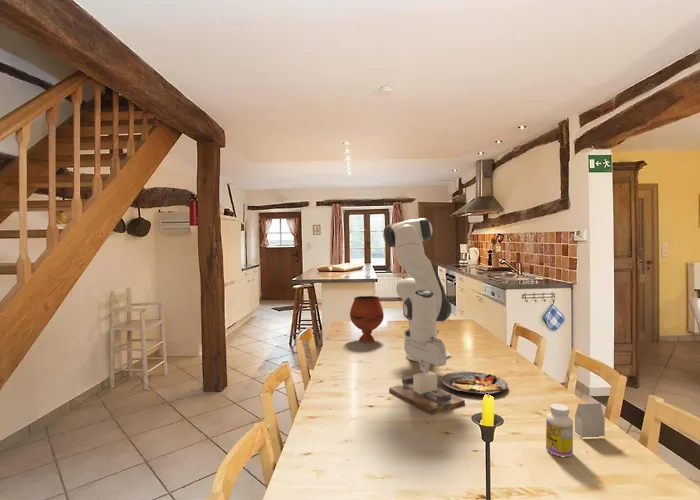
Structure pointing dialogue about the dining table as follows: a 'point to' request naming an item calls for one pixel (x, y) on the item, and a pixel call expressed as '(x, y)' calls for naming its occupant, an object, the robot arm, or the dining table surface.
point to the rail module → (424, 383)
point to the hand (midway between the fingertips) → (424, 371)
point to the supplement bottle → (559, 431)
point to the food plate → (474, 382)
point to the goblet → (366, 315)
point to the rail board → (426, 397)
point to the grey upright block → (589, 420)
